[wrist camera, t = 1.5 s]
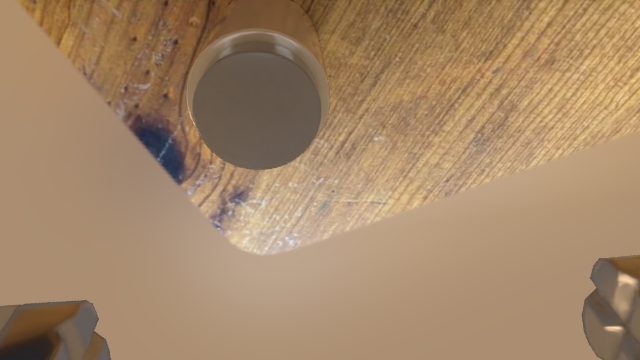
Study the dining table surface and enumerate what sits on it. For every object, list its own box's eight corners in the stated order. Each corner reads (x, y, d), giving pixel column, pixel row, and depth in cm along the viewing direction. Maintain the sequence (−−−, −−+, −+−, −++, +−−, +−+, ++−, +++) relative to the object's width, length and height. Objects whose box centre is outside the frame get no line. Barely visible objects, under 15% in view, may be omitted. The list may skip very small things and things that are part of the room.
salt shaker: (192, 72, 26) (157, 144, 19) (236, -30, 24) (216, 8, 17) (289, 117, 27) (291, 201, 20) (339, 25, 25) (361, 81, 18)
